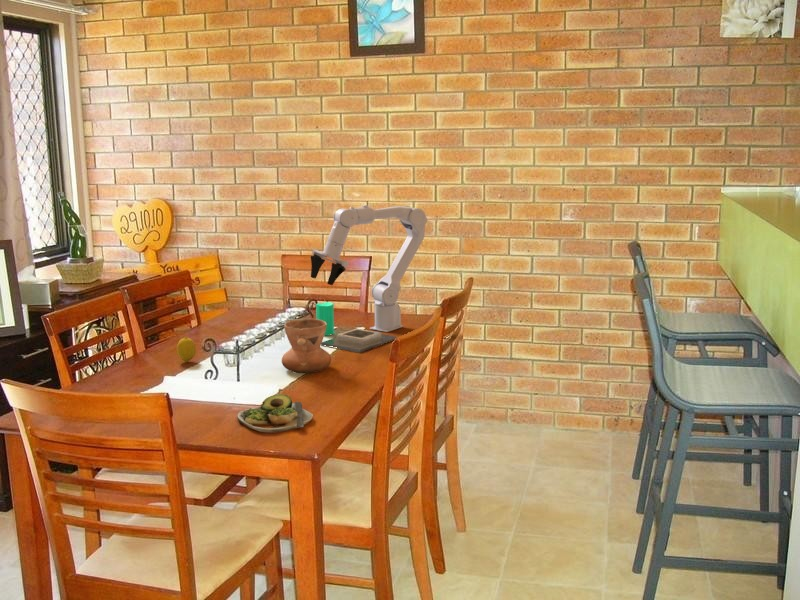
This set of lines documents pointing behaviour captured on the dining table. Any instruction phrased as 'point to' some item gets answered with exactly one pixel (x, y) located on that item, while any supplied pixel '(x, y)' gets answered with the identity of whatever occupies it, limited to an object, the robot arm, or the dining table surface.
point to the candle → (326, 315)
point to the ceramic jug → (306, 346)
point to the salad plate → (275, 415)
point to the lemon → (186, 349)
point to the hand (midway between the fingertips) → (321, 281)
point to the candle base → (358, 340)
